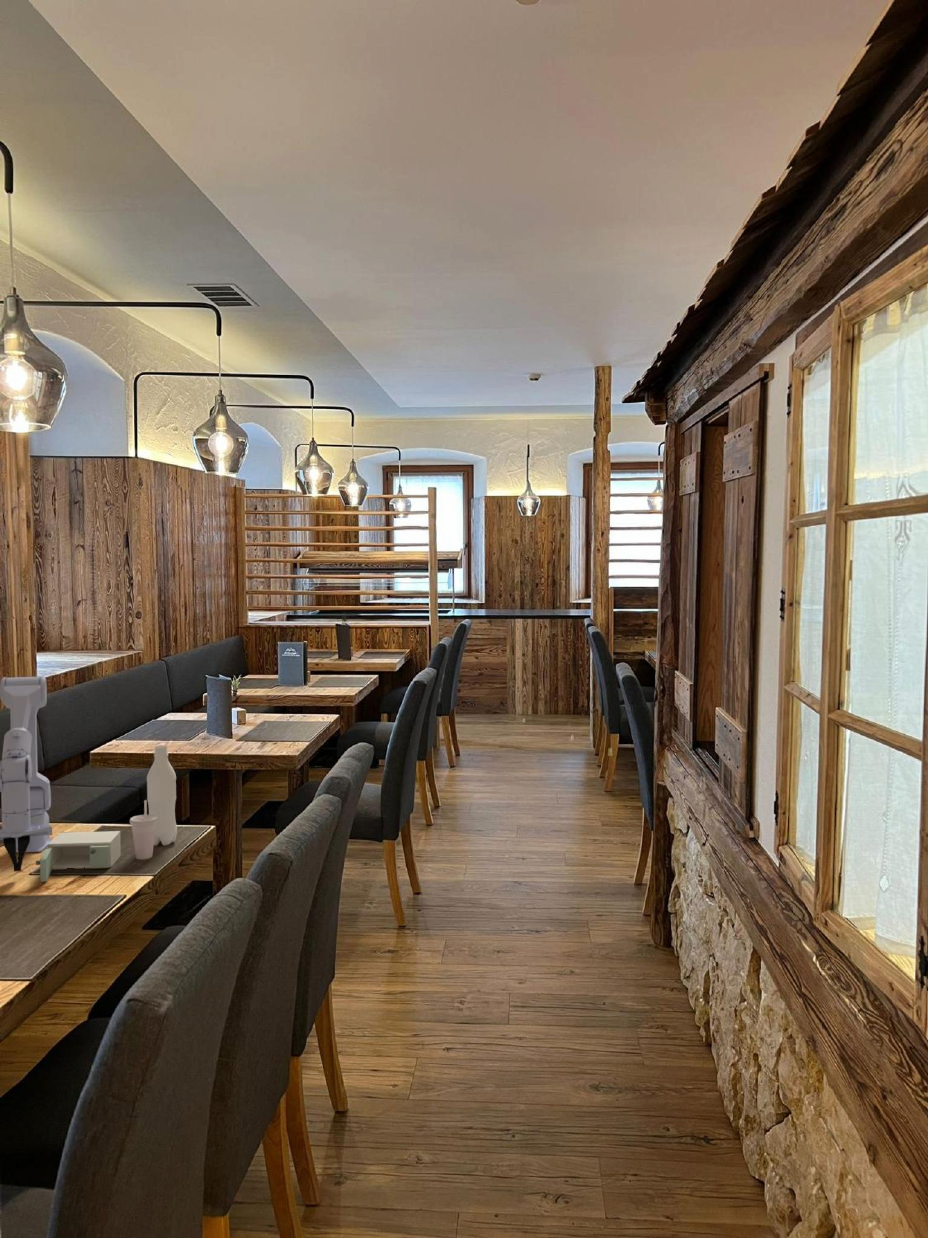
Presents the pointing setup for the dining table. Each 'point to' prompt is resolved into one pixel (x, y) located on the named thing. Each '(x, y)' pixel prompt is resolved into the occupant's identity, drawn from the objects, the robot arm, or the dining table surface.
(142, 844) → the smoothie
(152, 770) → the water bottle
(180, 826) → the dining table surface
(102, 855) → the cabinet
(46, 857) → the door
